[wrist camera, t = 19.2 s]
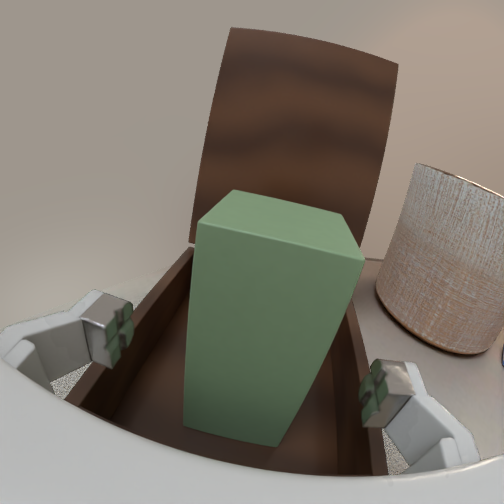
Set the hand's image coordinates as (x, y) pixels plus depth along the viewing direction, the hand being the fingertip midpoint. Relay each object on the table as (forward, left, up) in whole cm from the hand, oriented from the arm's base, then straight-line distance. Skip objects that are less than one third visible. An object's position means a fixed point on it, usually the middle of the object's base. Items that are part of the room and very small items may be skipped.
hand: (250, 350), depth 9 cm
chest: (-1, +6, -8) cm, 10 cm away
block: (0, +3, -8) cm, 8 cm away
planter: (+17, +24, -9) cm, 31 cm away
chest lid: (-3, +15, +6) cm, 16 cm away
